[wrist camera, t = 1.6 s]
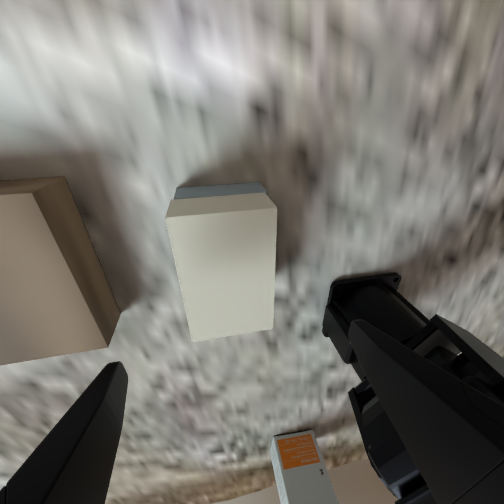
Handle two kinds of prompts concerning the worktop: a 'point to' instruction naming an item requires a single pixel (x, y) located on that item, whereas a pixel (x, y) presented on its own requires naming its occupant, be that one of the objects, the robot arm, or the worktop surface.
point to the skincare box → (301, 470)
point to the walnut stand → (49, 275)
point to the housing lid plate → (225, 262)
